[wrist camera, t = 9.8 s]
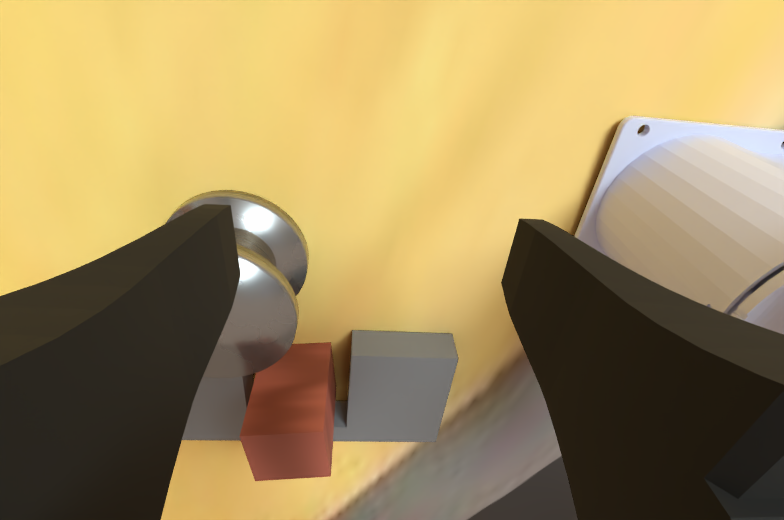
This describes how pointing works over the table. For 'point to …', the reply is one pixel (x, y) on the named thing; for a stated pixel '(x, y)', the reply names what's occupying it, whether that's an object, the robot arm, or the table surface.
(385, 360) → the notched board
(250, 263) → the bobbin
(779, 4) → the table surface
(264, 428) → the block
